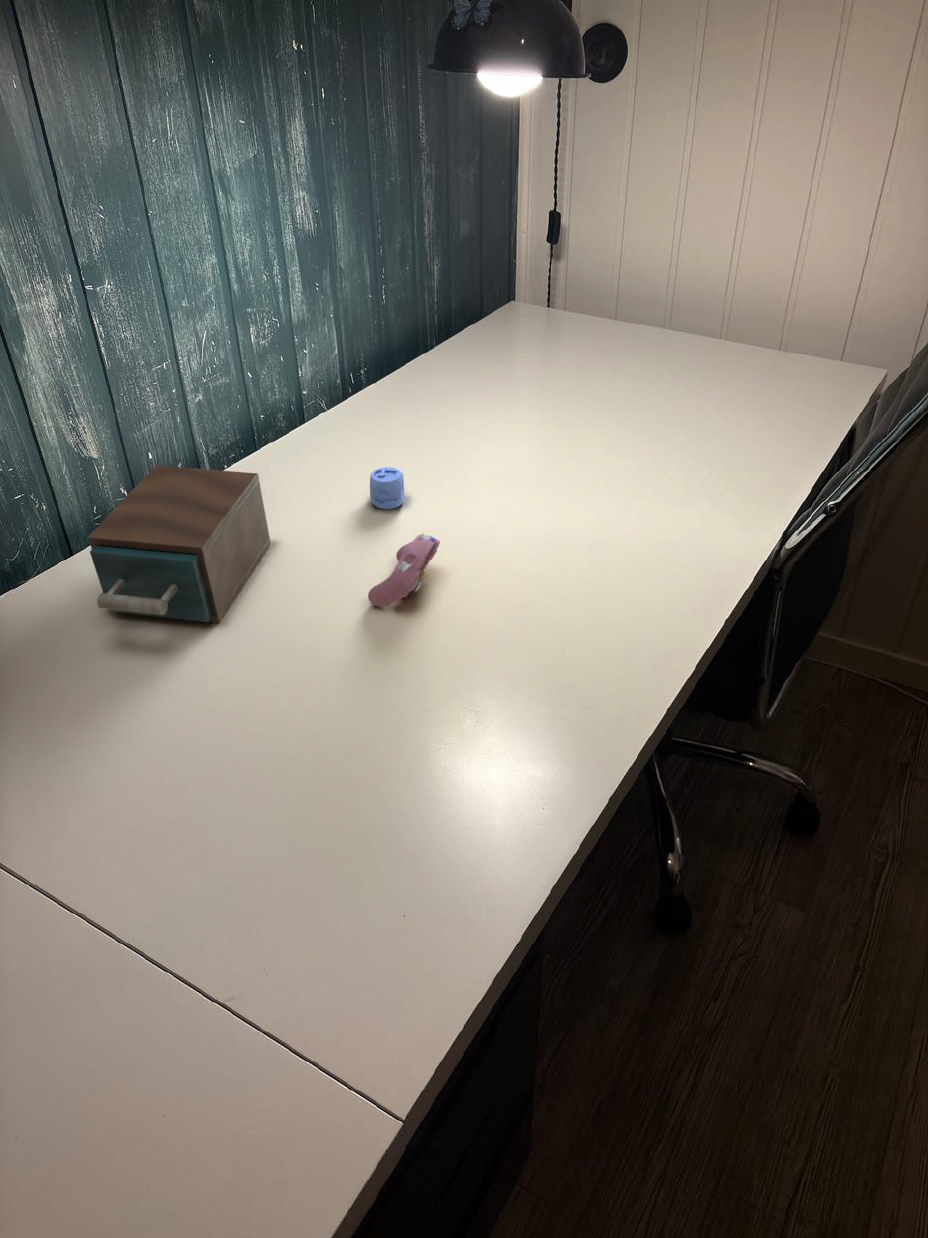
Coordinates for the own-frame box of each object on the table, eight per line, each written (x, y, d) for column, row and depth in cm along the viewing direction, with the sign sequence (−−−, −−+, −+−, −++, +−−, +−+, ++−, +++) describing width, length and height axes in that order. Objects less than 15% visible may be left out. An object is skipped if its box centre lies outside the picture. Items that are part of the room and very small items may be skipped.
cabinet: (219, 623, 100) (201, 547, 94) (111, 611, 102) (87, 537, 96) (271, 544, 112) (258, 473, 106) (173, 535, 114) (155, 465, 108)
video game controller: (398, 624, 101) (421, 582, 97) (362, 602, 101) (384, 560, 96) (429, 574, 109) (452, 534, 104) (396, 554, 108) (418, 513, 104)
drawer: (190, 648, 95) (174, 586, 90) (88, 636, 97) (67, 575, 92) (258, 548, 109) (246, 490, 105) (168, 539, 111) (153, 482, 107)
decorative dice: (402, 509, 118) (400, 481, 115) (371, 509, 118) (368, 482, 115) (404, 493, 121) (402, 466, 118) (374, 493, 121) (371, 466, 118)
